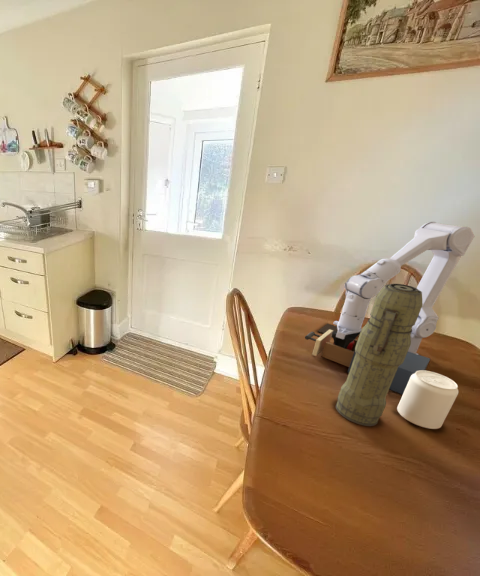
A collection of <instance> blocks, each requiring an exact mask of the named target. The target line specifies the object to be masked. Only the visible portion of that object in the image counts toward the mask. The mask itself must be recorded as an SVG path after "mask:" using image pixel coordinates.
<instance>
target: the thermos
mask: <svg viewBox="0 0 480 576" xmlns="http://www.w3.org/2000/svg"><path fill="white" fill-rule="evenodd" d="M421 308H422V292H421V291H420V290H418V289H417V287H414V286H411V285H407V284H403V283H389V284H384V286H383V287H382V288H381V289H380V291H379V293H378V294H377V295H376V296H375V299H374V302H373V305H372V308H371V311H370V313H369V316H370V317H369V318H368V319H367V322H366V324H365V325H363V327H361V332H360V334H359V335H358V338H357V340H358V341H357V344H356V347H355V352H356V354H355V357H354V360H353V363H352V366H351V369H350V372H349V373H348V375H347V378H346V380H345V382H344V383H343V384H342V385H341V387H340V389H339V392H338V395H337V402H336V404H335V409H336V411H337V413H338V414H340V415H341V416H342V417H343V418H344V419H346V420H348V421H350V422H352V423H354V424H356V425H361V426H365V427H374V426H376V425H378V423H379V419H380V417H382V416H383V413H384V411H385V408H386V405H387V399H386V398H387V395H388V393H389V391H390V389H389V388H390V386H391V383H392V381H393V378H394V376H395V374H396V371H397V369H398V366H400V365H401V364H403V362H404V359H405V357H406V355H407V352H408V350H409V347H410V345H411V336H410V335H411V332H412V326H414V325H415V322H416V320H417V318H418V315H419V313H420V310H421Z"/></svg>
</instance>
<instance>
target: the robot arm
mask: <svg viewBox="0 0 480 576" xmlns="http://www.w3.org/2000/svg"><path fill="white" fill-rule="evenodd" d="M413 235H414V236H413V238H412V239H411V240H409V241H408V242H407V243H406V244H405V245H404V246H402V247H401V248H400V249H399V250H398V251H396V252H395V253H394V254H393V255H392V256H390V257H389V258H388V257H387V258H381V259H379V260H378V261H377V262H376V263H374V264H372V265H370V267H368V268H366V269H365V270H364V271H363V272H361V273H360V274H356V275H352V276H350V277H349V278H348V279H347V280H346V282H344V285H343V286H344V289H345V294H344V295H345V299H344V303H343V306H342V310H341V313H340V316H339V319H338V320H334V321H333V324H332V325H334V326H337V329H338V331H333V332H332V337H331V338H332V340H333V343H334V345H337V346H340V347H342V348H345V349H346V348H347V346H348V345H349V344H350V343H351V342H352V341H353V340H355V339H356V338H357V337H359V335H360V332H361V329H362V326H363V324H364V320H365V317H366V315H367V312H368V308H369V305H370V302H371V300H372V298H374V297H376V296H377V294H378V293H379V292H380V291H381V289H382V288H383V287H384V286H385V284H386V283H388V282H389V280H391V279H393V278H395V276H397V275H398V274H400V272H401V267H402V266H404V265H405V264H407V263H408V262H410V261H412V260H414V259H415V258H416V257H418V256H420V255H421V254H423V253H425V252H426V251H431V253H432V254H433V256H432V258H431V260H430V262H429V264H428V266H427V268H426V270H425V271H424V273H423V275H422V277H421V279H420V281H419V282H418V285H417V286H416V288H417V289H418V290H420V291H421V292H422V308H421V310H420V313H419V315H418V318H417V320H416V322H415V325H414V326H412V332H411V335H410V336H411V345H410V347H409V350H408V352H411V353H414V354H418V355H420V354H419V353H417V352H418V350H419V348H420V345H421V343H422V340H423V339H425V338H428V337H430V336H431V335H433V334H434V332H435V331H436V329H437V323H438V321H439V320H440V319H439V318H440V316H438V314H437V313H436V311H435V310H434V309H433V307H434V306H435V303H436V302H437V300H438V298H439V297H440V295H441V294H442V291H443V290H444V288H445V286H446V284H447V283H448V281H449V279H450V277H451V276H452V274H453V272H454V270H455V269H456V267H457V265H458V263H459V261H460V260H461V258H462V257H463V256H465V254H466V252H467V251H468V249H469V247H470V246H471V244H472V242H473V240H474V238H475V234H474V232H473V230H472V228H471V227H469V226H465V225H463V226H461V225H454V224H447V223H441V222H436V221H428V222H424V224H422V225H421V226H420V227H419V228H417V229H416V230H415V231H414V234H413Z"/></svg>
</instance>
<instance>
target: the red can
mask: <svg viewBox="0 0 480 576" xmlns="http://www.w3.org/2000/svg"><path fill="white" fill-rule="evenodd" d="M353 345H354V340H353V341H352V342H351V343H350V344H349V345H348V346H347V348H346V349H348V350H352V348H353Z"/></svg>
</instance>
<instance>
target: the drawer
mask: <svg viewBox="0 0 480 576" xmlns="http://www.w3.org/2000/svg"><path fill="white" fill-rule="evenodd" d="M332 332H333V330H330V329H329V330H328V331H327V332H325V333H324V334H322V335H320V334H317V333H316V332H314V331H310V332H309V333H308V334H307V335H305V336H304V339H305V340H310V341H313V342H315V343H314V347H313V350H312V353H311V355H312V356H315V357H317V356H318V355H319V354H320V353H321V352H322V354H321V358H324V359H326V360H329V361H332V362H335V363H338V364H339V365H342V366H344V367H348V368H349V366H350V363H351V360H352V357H353V354H354V351H355V347H356V344H357V341H358V339H356V338H355V340H354V345H353V348H352V350H348V349H345V348H342V347H340V346H337V345H334V342H332V343H331V340H332V338H333V337H332ZM314 337H317V338H314Z"/></svg>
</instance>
